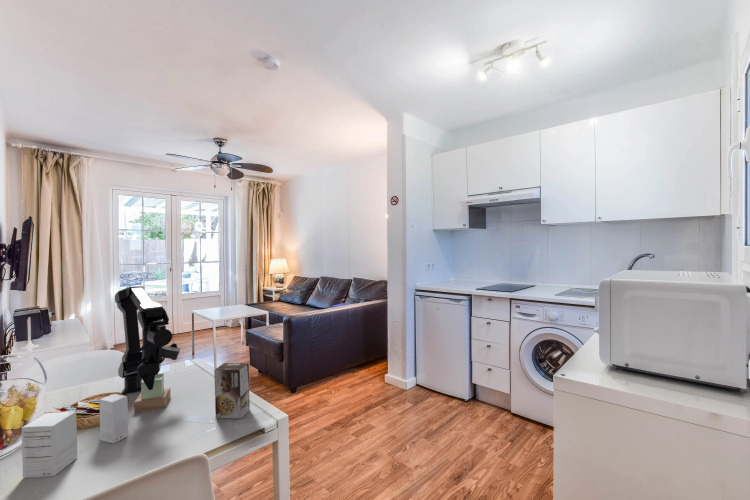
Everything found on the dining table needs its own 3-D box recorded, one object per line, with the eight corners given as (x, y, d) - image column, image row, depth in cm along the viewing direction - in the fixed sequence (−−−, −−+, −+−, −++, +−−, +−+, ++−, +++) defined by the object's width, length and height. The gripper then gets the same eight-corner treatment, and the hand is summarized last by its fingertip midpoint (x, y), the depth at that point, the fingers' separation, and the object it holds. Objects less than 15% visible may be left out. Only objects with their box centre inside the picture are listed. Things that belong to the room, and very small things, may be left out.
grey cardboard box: (250, 409, 113) (249, 362, 113) (241, 419, 107) (240, 369, 107) (225, 408, 114) (224, 362, 114) (214, 418, 108) (213, 369, 107)
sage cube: (144, 393, 119) (144, 376, 119) (163, 389, 122) (163, 373, 122) (141, 399, 114) (141, 382, 114) (161, 396, 116) (161, 379, 116)
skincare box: (129, 436, 98) (128, 395, 98) (113, 444, 94) (112, 402, 94) (115, 432, 100) (114, 393, 100) (99, 440, 96) (98, 399, 96)
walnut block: (142, 402, 120) (141, 391, 120) (170, 398, 124) (170, 387, 124) (134, 413, 112) (134, 402, 112) (165, 408, 115) (164, 397, 115)
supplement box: (48, 459, 87) (47, 412, 87) (78, 457, 88) (77, 410, 88) (21, 479, 80) (20, 427, 80) (54, 477, 81) (53, 425, 80)
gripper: (176, 344, 113) (176, 390, 113) (180, 332, 130) (181, 372, 130) (136, 349, 108) (137, 397, 108) (146, 336, 125) (147, 377, 125)
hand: (152, 384), depth 118 cm, fingers open, 9 cm apart
